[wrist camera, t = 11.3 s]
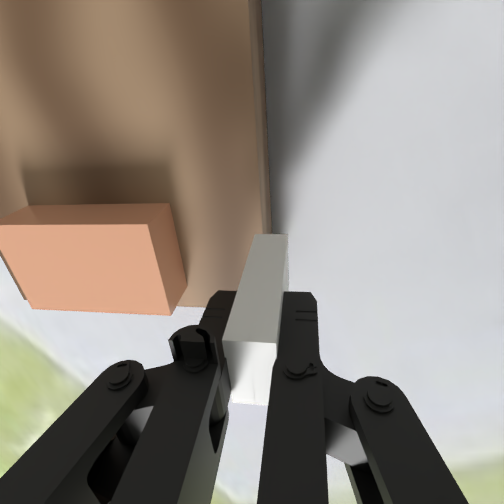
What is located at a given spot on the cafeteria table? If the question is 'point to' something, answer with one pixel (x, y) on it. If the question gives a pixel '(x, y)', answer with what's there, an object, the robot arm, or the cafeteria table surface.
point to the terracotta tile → (96, 257)
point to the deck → (141, 119)
